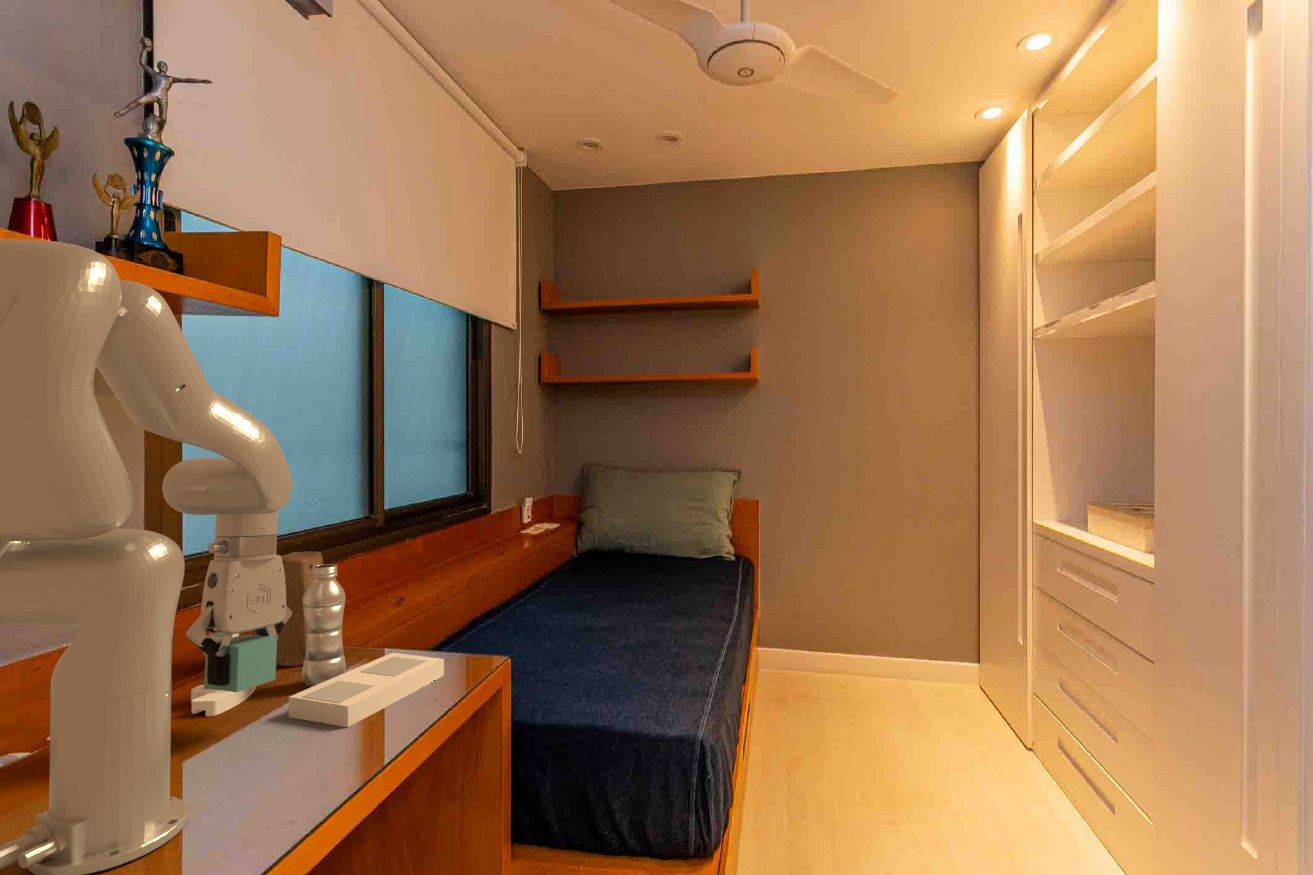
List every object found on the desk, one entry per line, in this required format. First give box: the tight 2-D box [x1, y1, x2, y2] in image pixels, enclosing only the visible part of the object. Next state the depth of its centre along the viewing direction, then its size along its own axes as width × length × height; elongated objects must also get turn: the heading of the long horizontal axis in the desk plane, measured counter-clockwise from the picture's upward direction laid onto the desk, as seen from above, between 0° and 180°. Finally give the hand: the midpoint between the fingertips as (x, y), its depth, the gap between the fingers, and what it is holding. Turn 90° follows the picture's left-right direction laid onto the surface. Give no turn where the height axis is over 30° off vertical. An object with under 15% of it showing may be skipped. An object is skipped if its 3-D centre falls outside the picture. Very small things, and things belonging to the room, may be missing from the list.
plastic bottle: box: [301, 563, 347, 688], centre depth 110 cm, size 6×7×20 cm
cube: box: [203, 633, 277, 692], centre depth 92 cm, size 6×6×6 cm
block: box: [276, 550, 324, 667], centre depth 123 cm, size 11×8×20 cm
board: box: [288, 652, 445, 728], centre depth 106 cm, size 22×11×3 cm, turn 162°
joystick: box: [190, 633, 256, 717], centre depth 103 cm, size 11×8×20 cm
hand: (240, 676), depth 92 cm, fingers closed on cube, 6 cm apart
